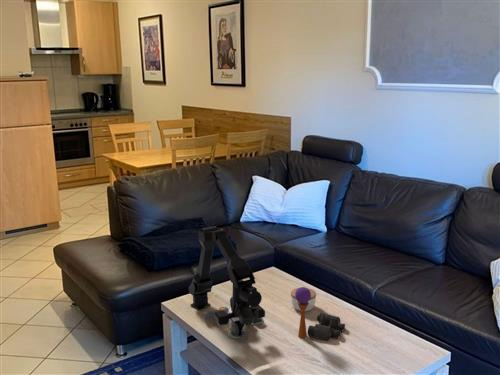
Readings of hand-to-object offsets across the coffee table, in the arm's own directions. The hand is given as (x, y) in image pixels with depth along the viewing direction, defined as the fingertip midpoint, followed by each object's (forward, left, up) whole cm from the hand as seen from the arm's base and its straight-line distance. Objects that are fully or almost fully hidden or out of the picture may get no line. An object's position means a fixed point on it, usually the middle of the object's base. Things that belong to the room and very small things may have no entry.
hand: (239, 335), depth 184 cm
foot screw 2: (-7, +16, -3) cm, 18 cm away
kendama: (+14, +20, -3) cm, 25 cm away
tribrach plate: (-10, +9, -3) cm, 13 cm away
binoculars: (+19, +30, -3) cm, 36 cm away
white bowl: (0, +38, -3) cm, 38 cm away
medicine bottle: (-9, +9, -3) cm, 13 cm away
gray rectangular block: (-5, +3, -3) cm, 6 cm away
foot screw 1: (-17, +8, -3) cm, 19 cm away
